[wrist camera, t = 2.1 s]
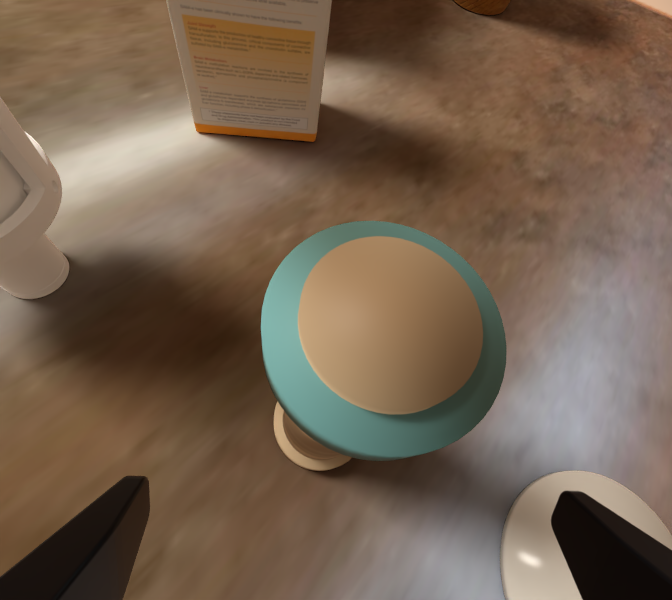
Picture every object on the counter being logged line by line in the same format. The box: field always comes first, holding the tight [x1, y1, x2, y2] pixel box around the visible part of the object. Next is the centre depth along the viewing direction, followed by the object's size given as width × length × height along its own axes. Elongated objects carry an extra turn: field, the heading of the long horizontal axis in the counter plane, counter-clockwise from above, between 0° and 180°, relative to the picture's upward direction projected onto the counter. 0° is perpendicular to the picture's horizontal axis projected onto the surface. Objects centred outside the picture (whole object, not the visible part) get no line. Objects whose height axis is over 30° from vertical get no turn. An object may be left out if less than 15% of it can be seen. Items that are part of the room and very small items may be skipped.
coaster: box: [500, 471, 672, 600], centre depth 17 cm, size 9×9×1 cm
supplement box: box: [166, 0, 332, 142], centre depth 22 cm, size 8×5×13 cm, turn 92°
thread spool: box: [261, 221, 506, 471], centre depth 13 cm, size 5×5×13 cm
